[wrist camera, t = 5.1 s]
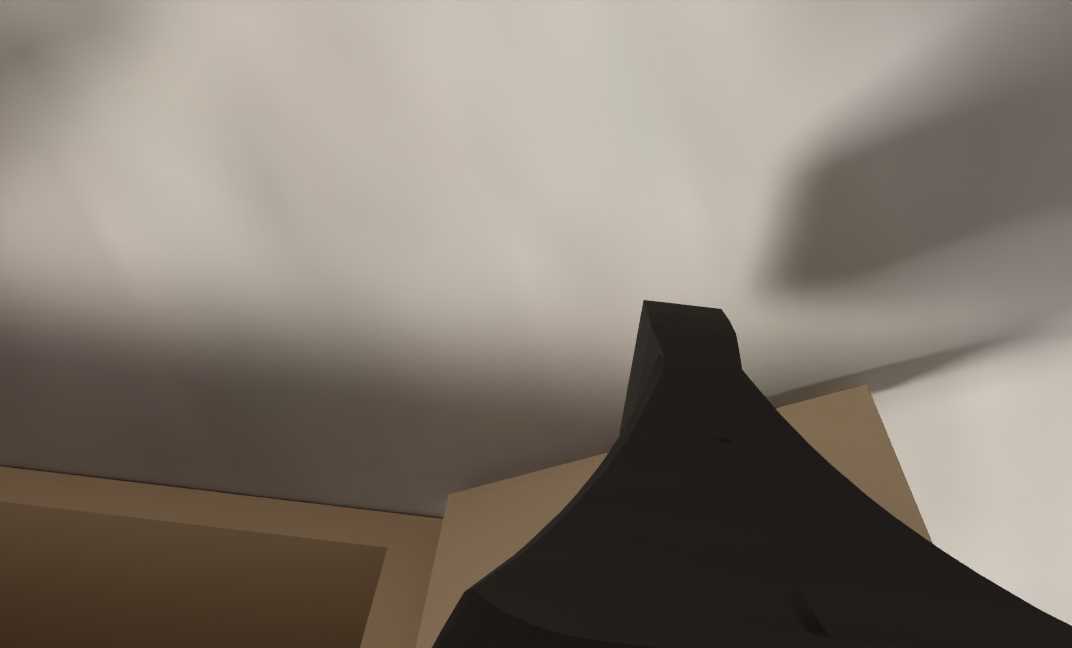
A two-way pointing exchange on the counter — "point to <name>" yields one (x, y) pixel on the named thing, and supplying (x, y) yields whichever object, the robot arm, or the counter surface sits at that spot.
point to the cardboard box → (203, 568)
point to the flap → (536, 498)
